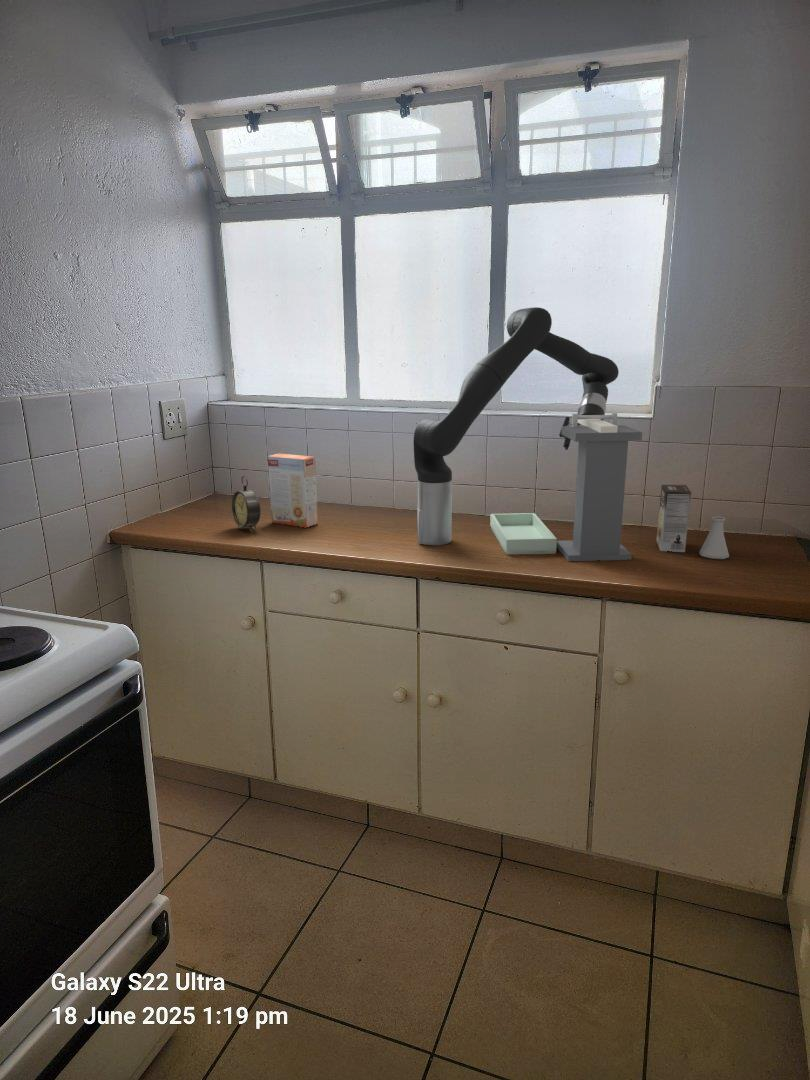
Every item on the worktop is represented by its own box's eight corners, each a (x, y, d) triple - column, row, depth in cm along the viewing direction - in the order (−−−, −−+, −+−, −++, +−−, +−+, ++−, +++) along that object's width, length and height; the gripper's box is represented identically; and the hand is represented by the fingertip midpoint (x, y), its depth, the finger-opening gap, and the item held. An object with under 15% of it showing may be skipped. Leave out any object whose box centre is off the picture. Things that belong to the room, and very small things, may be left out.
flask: (727, 561, 173) (731, 522, 170) (696, 557, 177) (700, 519, 174) (731, 554, 179) (736, 516, 176) (701, 549, 183) (705, 512, 180)
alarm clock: (232, 527, 209) (227, 474, 205) (249, 524, 212) (245, 472, 208) (248, 535, 201) (244, 479, 196) (265, 532, 204) (261, 477, 199)
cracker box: (319, 524, 212) (316, 455, 206) (306, 529, 207) (302, 459, 201) (284, 518, 219) (280, 452, 213) (271, 522, 214) (266, 455, 208)
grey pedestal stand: (568, 561, 175) (576, 419, 165) (555, 546, 187) (562, 413, 177) (631, 559, 175) (643, 418, 165) (614, 544, 188) (624, 412, 178)
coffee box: (655, 541, 190) (660, 483, 186) (680, 542, 189) (686, 484, 184) (660, 551, 182) (666, 491, 177) (686, 552, 180) (692, 492, 176)
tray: (506, 554, 181) (506, 539, 179) (490, 526, 206) (490, 513, 205) (556, 553, 181) (556, 538, 180) (533, 526, 207) (534, 513, 206)
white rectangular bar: (600, 432, 166) (601, 426, 166) (575, 421, 187) (575, 416, 187) (617, 432, 166) (617, 426, 166) (590, 421, 187) (590, 415, 187)
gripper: (571, 395, 198) (560, 435, 189) (620, 410, 197) (611, 451, 188) (563, 414, 204) (553, 453, 196) (610, 428, 203) (602, 468, 194)
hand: (581, 452), depth 192 cm, fingers open, 8 cm apart
